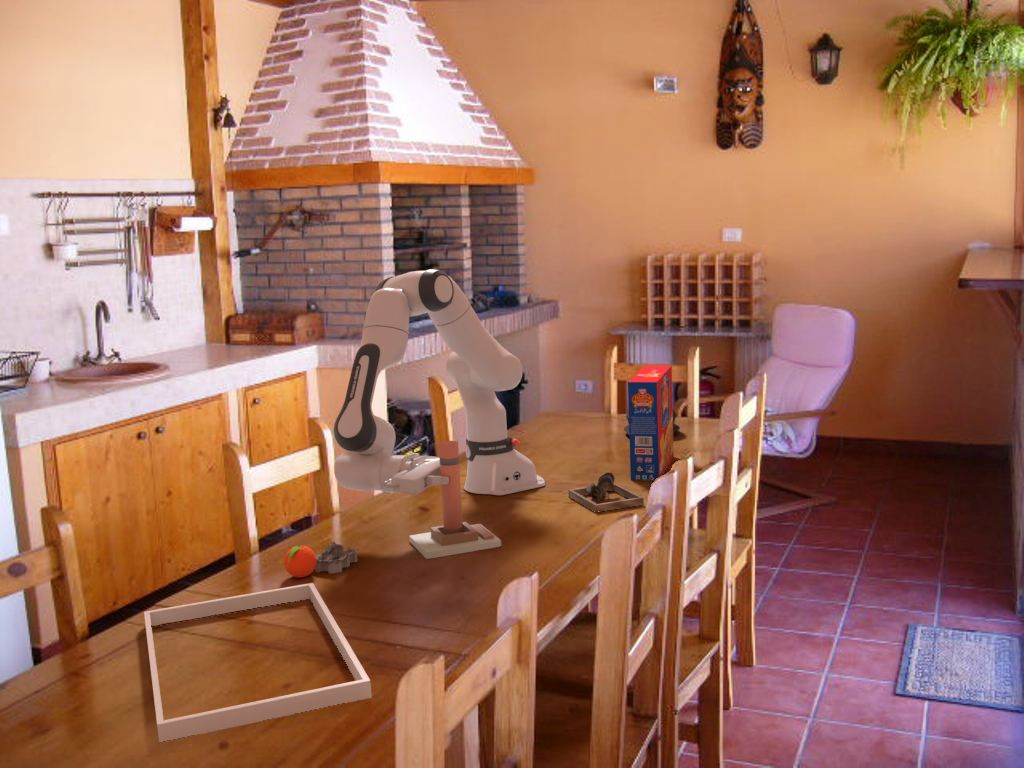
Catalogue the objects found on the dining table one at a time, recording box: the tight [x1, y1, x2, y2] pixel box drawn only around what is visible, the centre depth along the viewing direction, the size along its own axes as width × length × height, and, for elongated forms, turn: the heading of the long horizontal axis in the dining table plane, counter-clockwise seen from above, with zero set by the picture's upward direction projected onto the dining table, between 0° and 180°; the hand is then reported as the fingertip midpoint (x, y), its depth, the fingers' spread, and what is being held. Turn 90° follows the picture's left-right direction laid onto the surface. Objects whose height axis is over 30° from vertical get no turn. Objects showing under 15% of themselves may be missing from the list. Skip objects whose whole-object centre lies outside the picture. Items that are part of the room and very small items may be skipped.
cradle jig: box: [408, 521, 502, 560], centre depth 247 cm, size 18×14×4 cm
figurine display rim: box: [567, 482, 645, 513], centre depth 276 cm, size 14×17×2 cm
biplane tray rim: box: [143, 582, 373, 743], centre depth 189 cm, size 33×50×3 cm, turn 21°
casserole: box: [623, 408, 681, 436], centre depth 350 cm, size 25×19×8 cm
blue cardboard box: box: [627, 365, 675, 482], centre depth 305 cm, size 28×8×28 cm, turn 163°
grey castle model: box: [314, 541, 359, 575], centre depth 236 cm, size 11×8×4 cm
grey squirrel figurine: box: [586, 472, 616, 503], centre depth 279 cm, size 8×7×9 cm
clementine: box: [283, 544, 317, 579], centre depth 229 cm, size 8×7×7 cm
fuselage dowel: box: [438, 440, 463, 529], centre depth 245 cm, size 4×4×20 cm
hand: (453, 476), depth 244 cm, fingers closed on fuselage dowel, 4 cm apart
